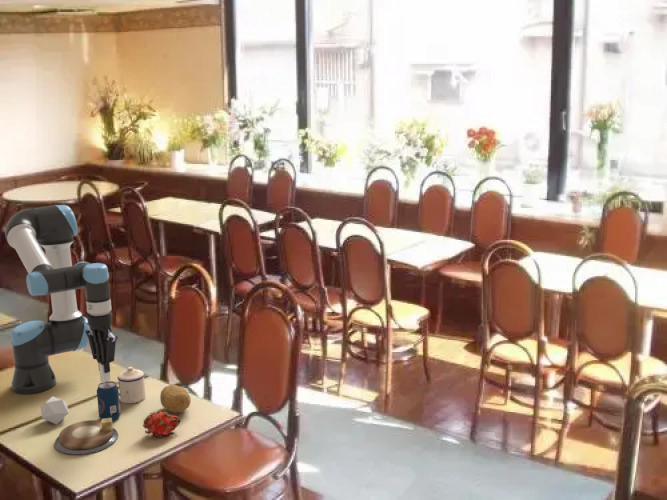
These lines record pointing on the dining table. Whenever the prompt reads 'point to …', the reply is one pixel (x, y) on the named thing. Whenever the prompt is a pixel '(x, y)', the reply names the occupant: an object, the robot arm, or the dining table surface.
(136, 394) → the teacup with lid
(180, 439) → the dining table surface
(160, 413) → the dragon fruit
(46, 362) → the robot arm
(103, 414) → the soda can
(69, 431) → the turntable
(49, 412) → the die
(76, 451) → the turntable base
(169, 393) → the potato
